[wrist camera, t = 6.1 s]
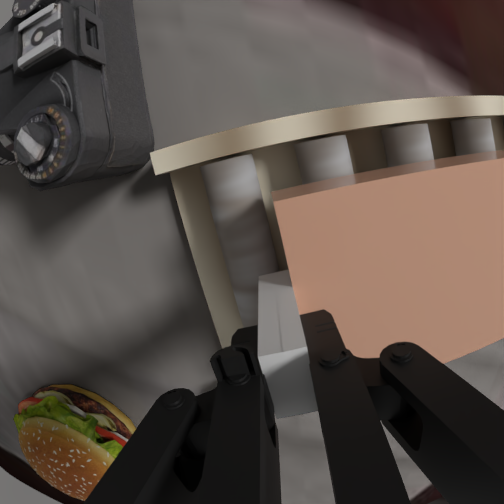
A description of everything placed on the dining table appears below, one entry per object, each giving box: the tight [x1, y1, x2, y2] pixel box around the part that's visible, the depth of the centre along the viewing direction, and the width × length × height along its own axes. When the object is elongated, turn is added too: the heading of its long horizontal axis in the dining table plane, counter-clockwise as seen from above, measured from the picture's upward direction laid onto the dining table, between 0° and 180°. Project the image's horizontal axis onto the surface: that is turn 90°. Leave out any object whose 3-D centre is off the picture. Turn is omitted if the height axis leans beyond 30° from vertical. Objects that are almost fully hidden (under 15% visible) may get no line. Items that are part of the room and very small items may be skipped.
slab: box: [271, 150, 504, 364], centre depth 15 cm, size 14×10×4 cm
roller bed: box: [150, 96, 504, 349], centre depth 15 cm, size 33×17×8 cm, turn 103°
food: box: [13, 384, 136, 501], centre depth 22 cm, size 14×14×8 cm
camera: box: [0, 0, 154, 191], centre depth 12 cm, size 14×11×10 cm
